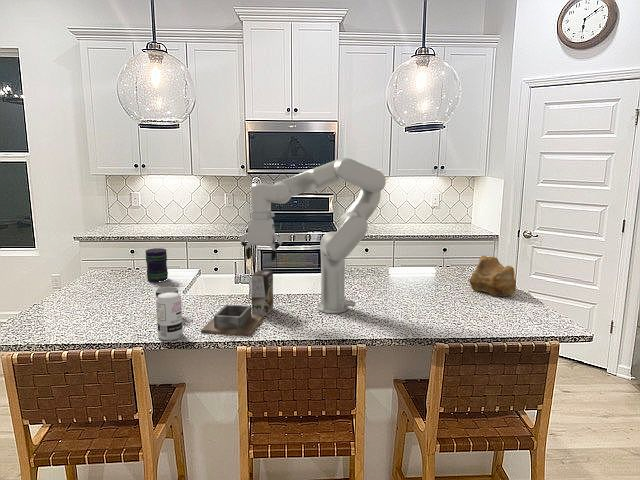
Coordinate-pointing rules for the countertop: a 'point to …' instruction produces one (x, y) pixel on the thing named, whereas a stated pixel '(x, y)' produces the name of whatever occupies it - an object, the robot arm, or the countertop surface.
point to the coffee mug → (166, 290)
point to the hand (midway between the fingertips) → (261, 259)
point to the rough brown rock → (493, 277)
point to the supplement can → (169, 316)
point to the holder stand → (233, 321)
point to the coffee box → (262, 292)
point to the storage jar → (156, 264)
